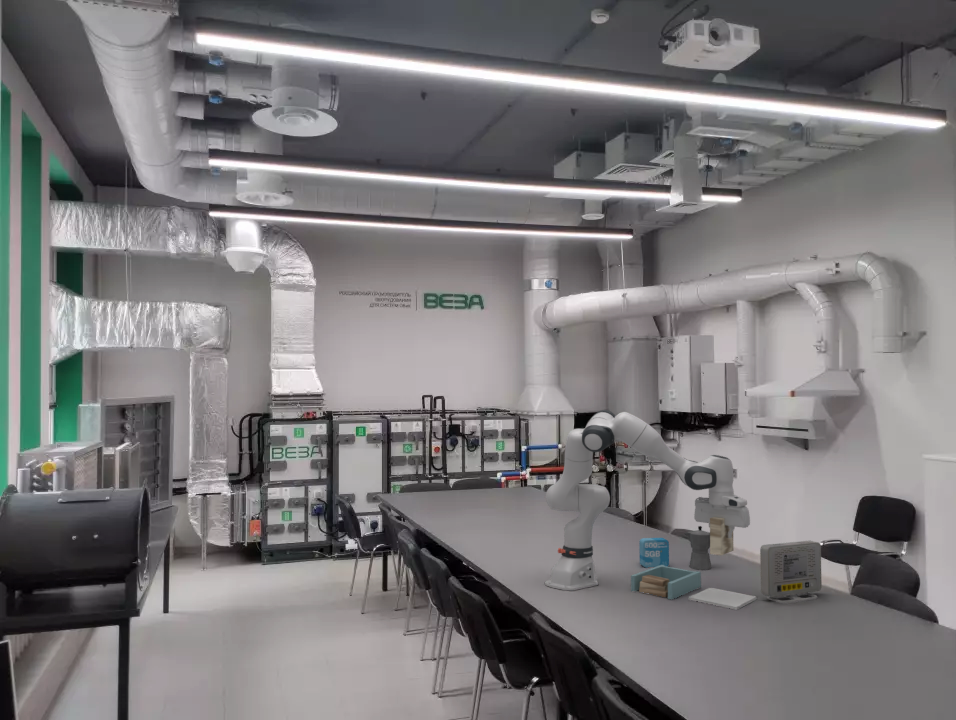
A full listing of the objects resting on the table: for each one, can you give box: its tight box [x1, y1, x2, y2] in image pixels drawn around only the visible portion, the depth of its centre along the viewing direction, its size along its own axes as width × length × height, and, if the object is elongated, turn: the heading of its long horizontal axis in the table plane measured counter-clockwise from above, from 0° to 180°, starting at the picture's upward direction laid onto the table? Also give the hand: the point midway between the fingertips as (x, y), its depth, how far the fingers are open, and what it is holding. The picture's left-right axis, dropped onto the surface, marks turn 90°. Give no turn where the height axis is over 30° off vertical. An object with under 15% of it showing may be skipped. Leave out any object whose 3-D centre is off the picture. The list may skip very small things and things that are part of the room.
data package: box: [638, 537, 670, 569], centre depth 316 cm, size 12×4×12 cm, turn 99°
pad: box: [688, 587, 757, 611], centre depth 265 cm, size 18×18×1 cm
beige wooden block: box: [709, 517, 734, 556], centre depth 266 cm, size 11×4×13 cm, turn 137°
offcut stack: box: [638, 575, 669, 598], centre depth 273 cm, size 5×11×6 cm, turn 47°
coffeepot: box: [684, 525, 713, 571], centre depth 314 cm, size 15×9×18 cm, turn 72°
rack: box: [630, 565, 702, 601], centre depth 279 cm, size 24×17×6 cm
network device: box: [759, 540, 823, 604], centre depth 268 cm, size 26×9×20 cm, turn 111°
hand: (721, 536), depth 266 cm, fingers closed on beige wooden block, 4 cm apart
